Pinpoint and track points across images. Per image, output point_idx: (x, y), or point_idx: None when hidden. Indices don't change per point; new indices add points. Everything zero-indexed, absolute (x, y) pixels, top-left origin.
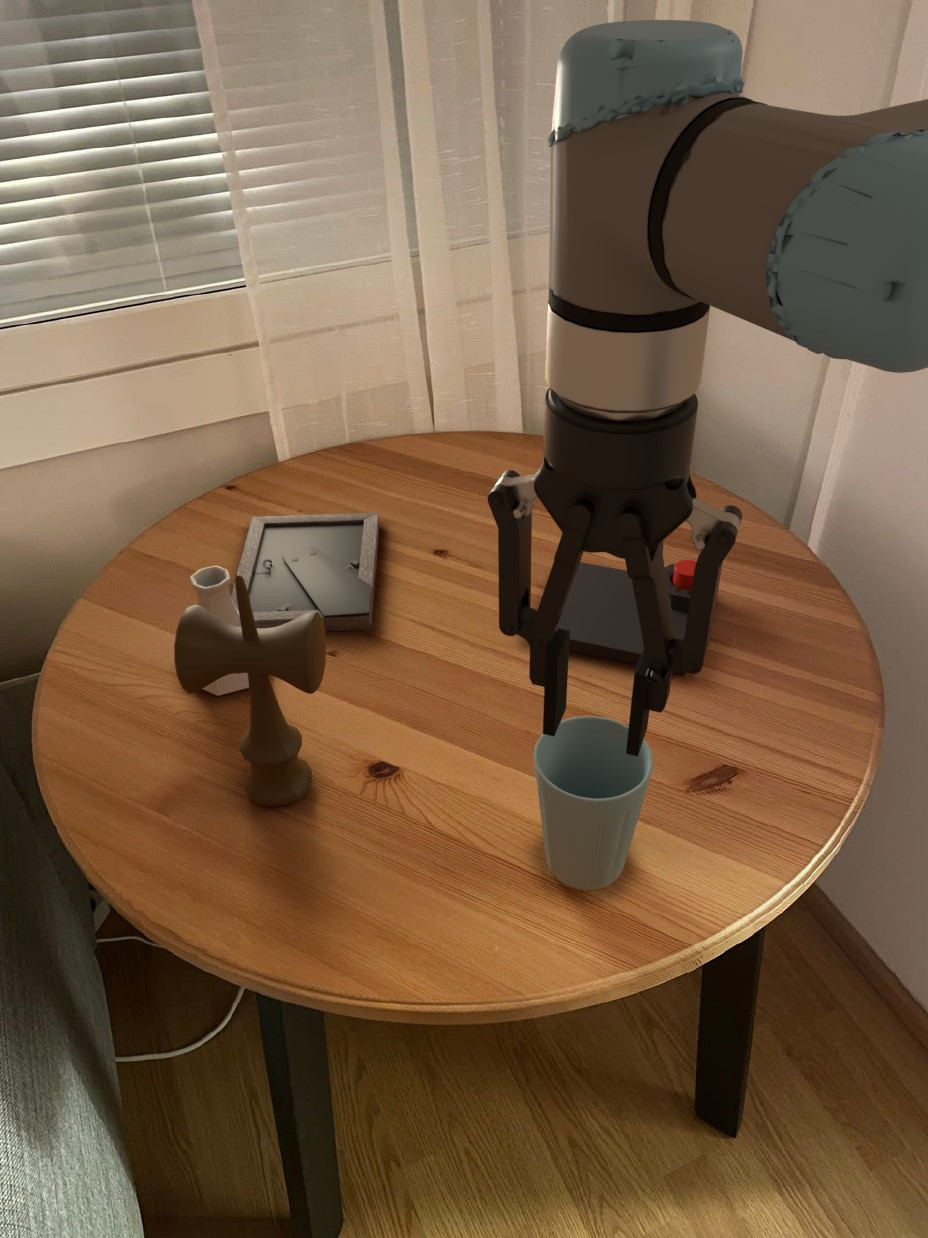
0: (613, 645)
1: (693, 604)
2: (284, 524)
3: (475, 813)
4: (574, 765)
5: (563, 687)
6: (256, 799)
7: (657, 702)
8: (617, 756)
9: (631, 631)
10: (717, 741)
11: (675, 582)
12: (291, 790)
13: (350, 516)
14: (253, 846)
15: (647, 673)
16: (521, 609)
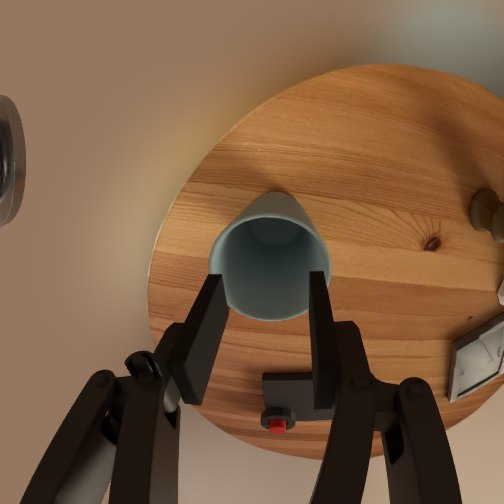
0: (309, 381)
1: (61, 471)
2: (490, 377)
3: (365, 230)
4: (297, 276)
5: (311, 331)
6: (491, 190)
7: (174, 333)
8: (260, 292)
9: (301, 391)
10: (227, 336)
11: (283, 421)
12: (479, 201)
13: (462, 396)
14: (479, 157)
15: (155, 366)
16: (396, 426)
